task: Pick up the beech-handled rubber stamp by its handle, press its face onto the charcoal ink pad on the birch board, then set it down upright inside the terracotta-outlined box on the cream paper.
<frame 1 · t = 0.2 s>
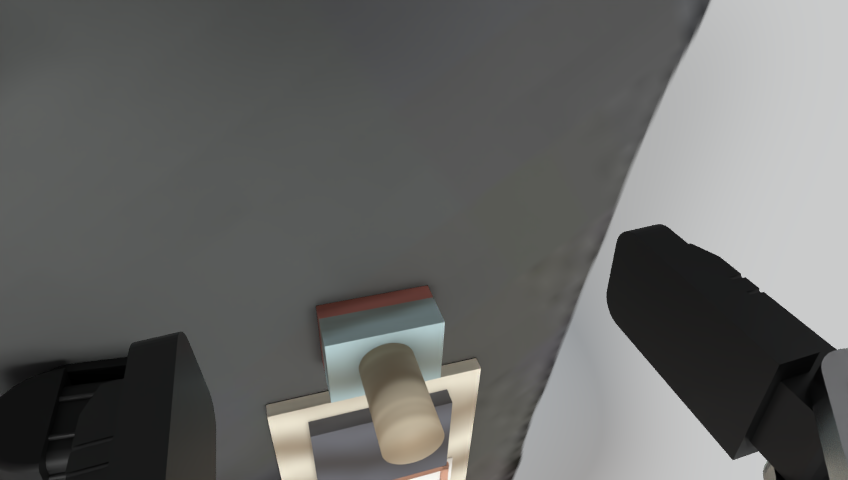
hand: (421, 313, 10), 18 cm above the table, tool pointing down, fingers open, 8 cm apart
end cap: (96, 410, 33), on the table
stamping board: (379, 467, 45), on the table
rubber stamp: (373, 323, 35), on the table
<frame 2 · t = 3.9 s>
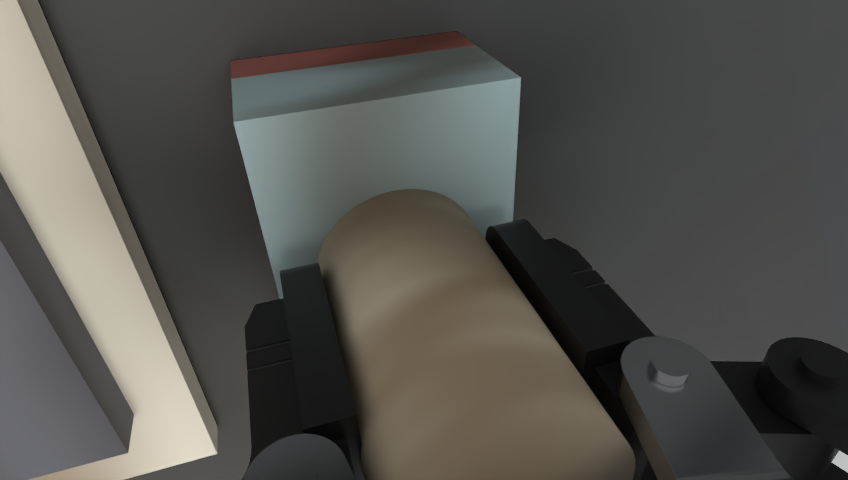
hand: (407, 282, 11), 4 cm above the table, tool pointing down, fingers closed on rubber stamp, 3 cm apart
rubber stamp: (365, 185, 14), on the table, touching gripper
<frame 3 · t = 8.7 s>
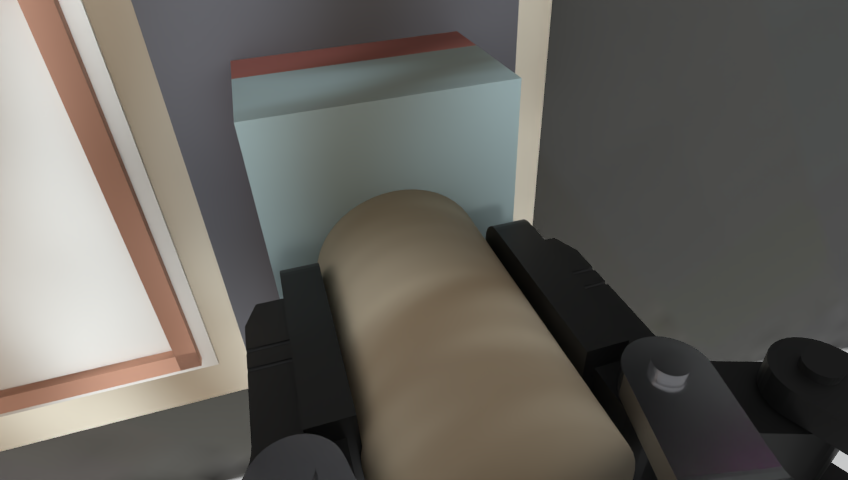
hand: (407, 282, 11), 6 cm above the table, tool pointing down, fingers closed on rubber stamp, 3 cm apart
stamping board: (144, 183, 15), on the table
rubber stamp: (365, 185, 14), point 2 cm above the table, touching gripper, stamping board
when the fingers open (6 cm above the table, at t = 13.6 s): rubber stamp drops 1 cm, resting on stamping board.
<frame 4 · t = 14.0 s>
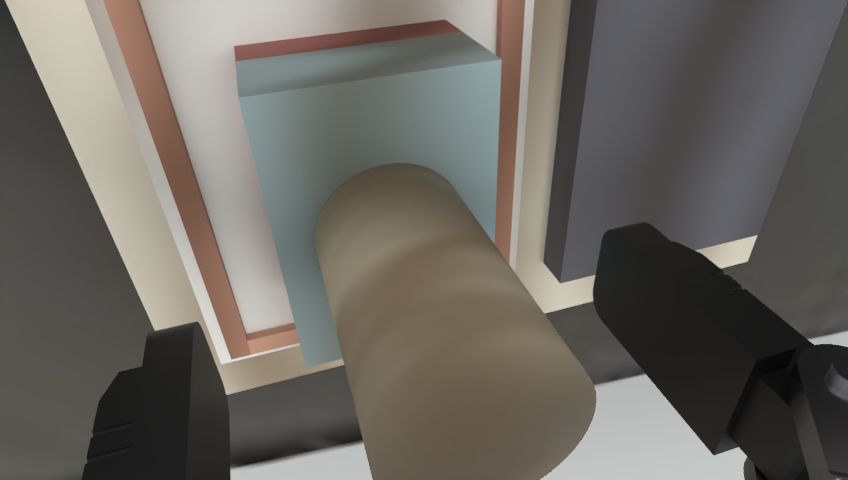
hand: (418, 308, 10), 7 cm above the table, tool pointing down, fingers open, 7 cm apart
stamping board: (497, 124, 17), on the table
rubber stamp: (360, 165, 15), point 1 cm above the table, touching stamping board
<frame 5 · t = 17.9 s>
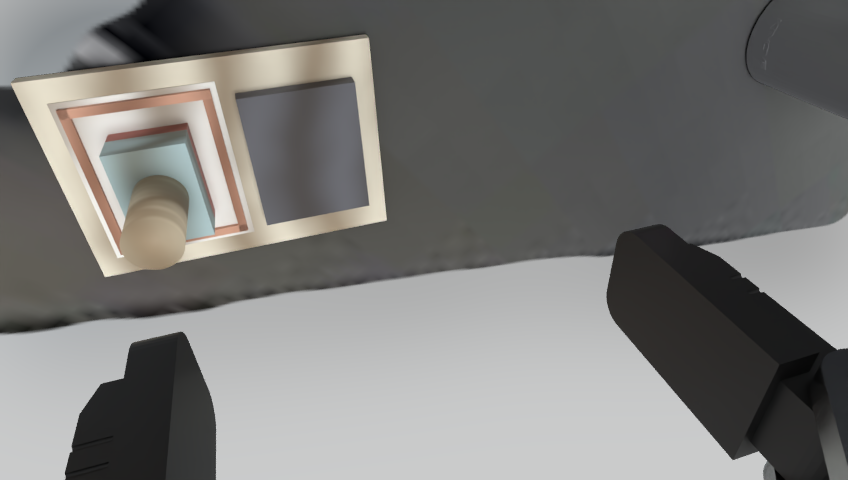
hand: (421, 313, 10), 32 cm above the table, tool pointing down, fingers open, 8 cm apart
stamping board: (230, 157, 40), on the table
rubber stamp: (165, 174, 39), point 1 cm above the table, touching stamping board
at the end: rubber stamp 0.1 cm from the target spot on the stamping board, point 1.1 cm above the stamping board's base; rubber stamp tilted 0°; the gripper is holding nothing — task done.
